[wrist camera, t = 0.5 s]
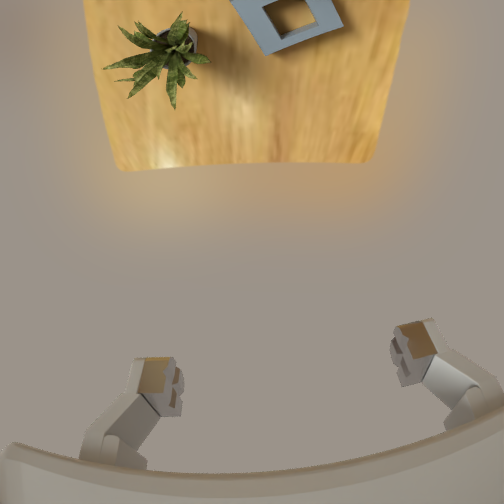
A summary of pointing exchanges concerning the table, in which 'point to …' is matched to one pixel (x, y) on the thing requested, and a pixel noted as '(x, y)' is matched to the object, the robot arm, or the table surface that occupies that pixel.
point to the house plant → (162, 56)
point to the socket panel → (269, 39)
